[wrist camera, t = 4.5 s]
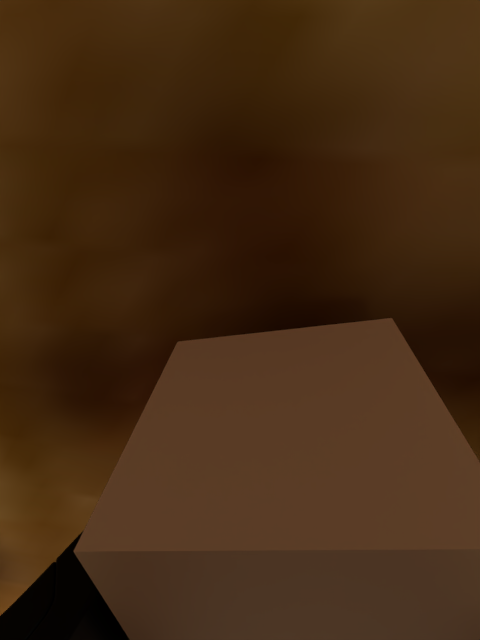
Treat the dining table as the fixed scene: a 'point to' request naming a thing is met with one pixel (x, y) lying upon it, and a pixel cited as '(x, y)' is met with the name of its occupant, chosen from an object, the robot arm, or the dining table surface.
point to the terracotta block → (292, 496)
